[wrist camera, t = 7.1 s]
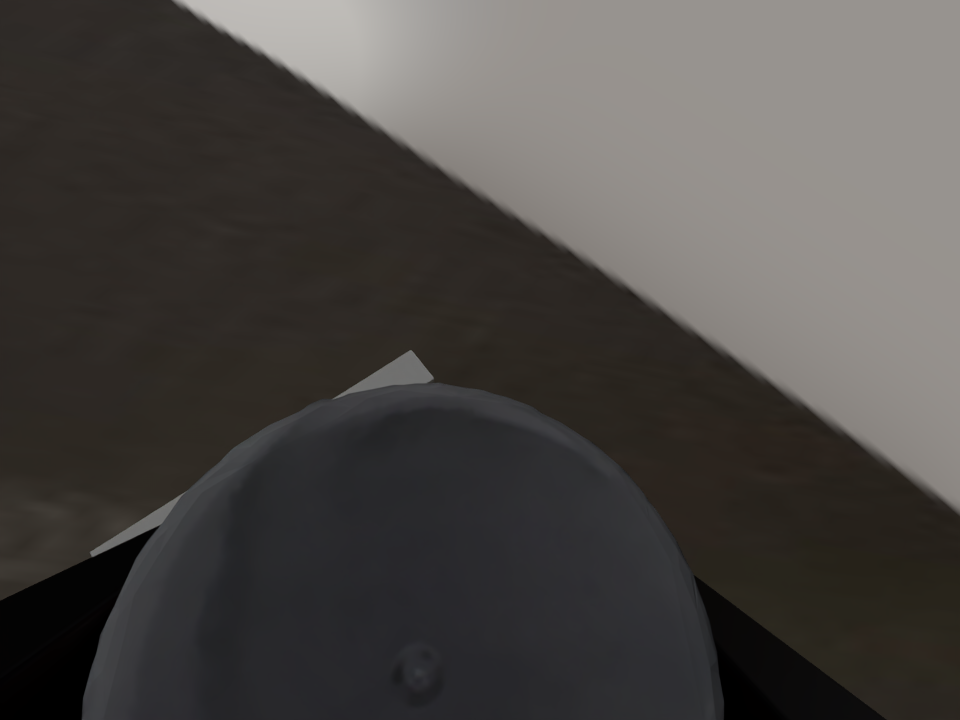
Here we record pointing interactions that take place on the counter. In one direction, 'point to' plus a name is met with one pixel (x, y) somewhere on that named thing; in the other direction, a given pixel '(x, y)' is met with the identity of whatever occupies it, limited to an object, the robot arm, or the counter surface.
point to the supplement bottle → (410, 578)
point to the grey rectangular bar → (394, 373)
